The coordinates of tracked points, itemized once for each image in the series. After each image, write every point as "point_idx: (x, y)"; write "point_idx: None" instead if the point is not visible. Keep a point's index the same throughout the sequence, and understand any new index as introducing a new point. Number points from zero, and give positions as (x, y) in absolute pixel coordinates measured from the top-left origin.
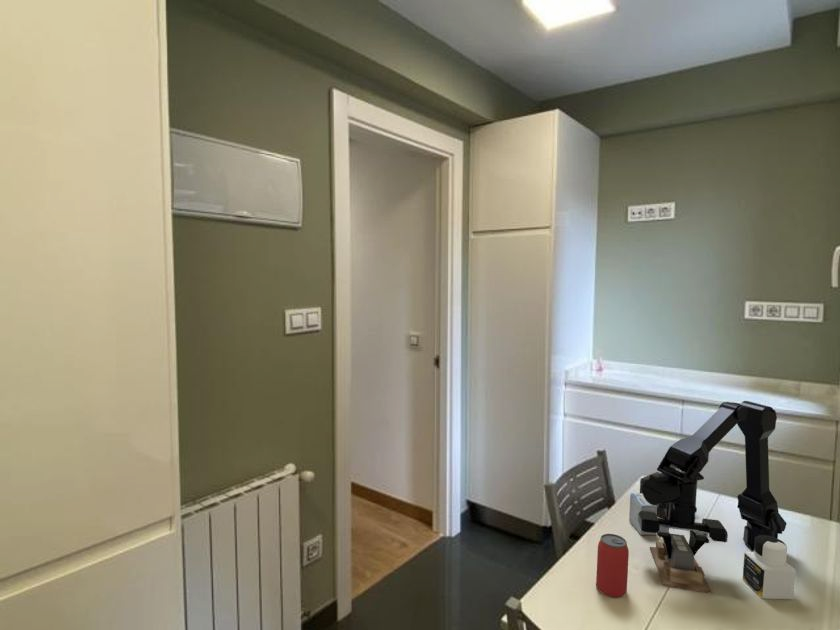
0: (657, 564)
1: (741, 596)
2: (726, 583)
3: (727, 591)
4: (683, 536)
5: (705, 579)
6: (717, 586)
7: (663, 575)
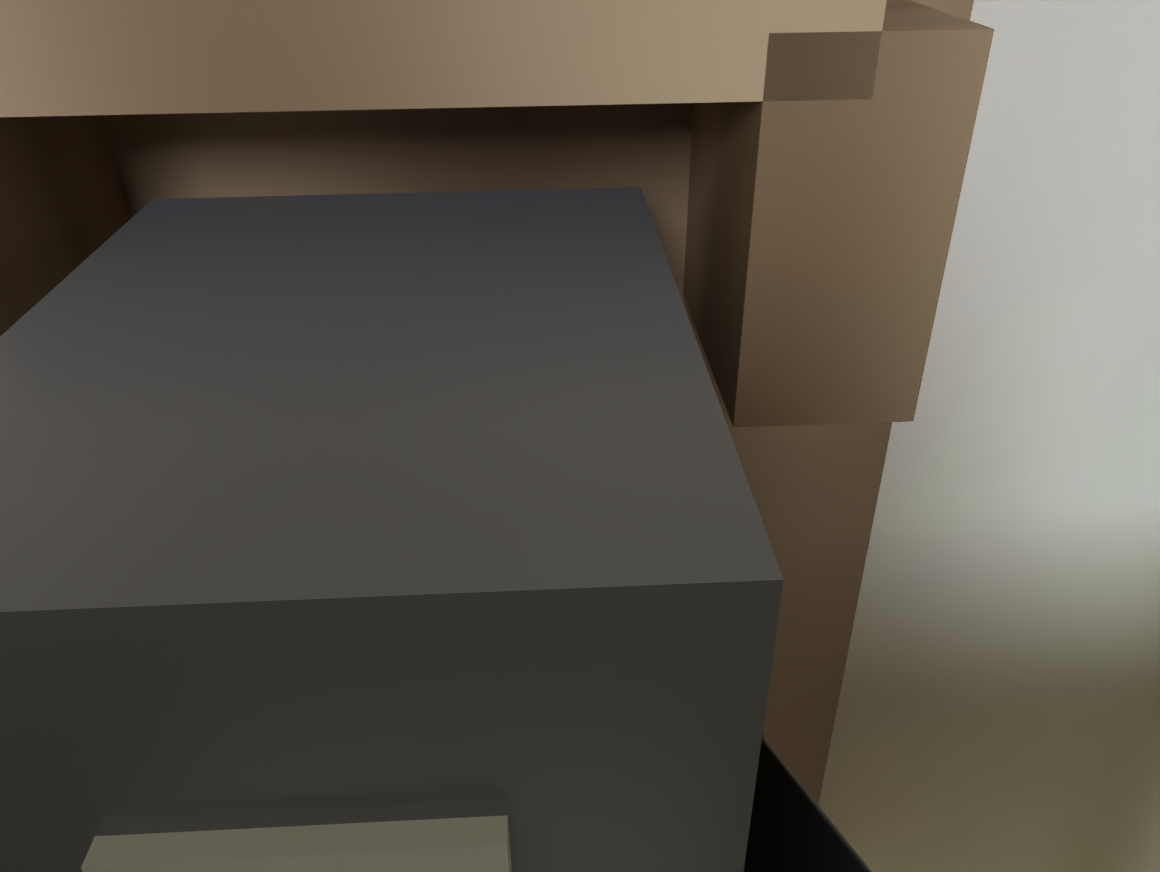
0: None
1: (1154, 847)
2: (1139, 663)
3: (1029, 811)
4: (704, 702)
5: (824, 750)
6: (948, 757)
7: None
